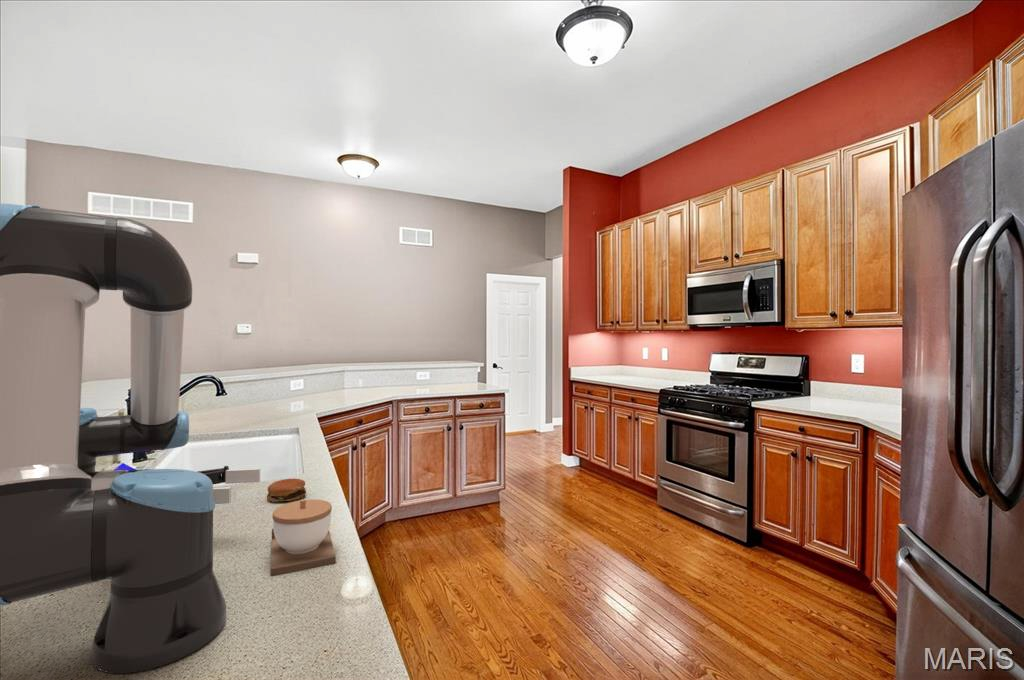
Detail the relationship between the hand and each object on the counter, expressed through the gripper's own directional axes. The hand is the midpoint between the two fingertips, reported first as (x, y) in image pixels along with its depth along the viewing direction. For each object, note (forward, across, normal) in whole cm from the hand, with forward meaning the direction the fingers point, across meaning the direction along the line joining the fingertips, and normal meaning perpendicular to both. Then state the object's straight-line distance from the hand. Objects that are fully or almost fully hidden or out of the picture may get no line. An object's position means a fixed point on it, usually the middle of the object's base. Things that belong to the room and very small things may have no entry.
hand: (246, 484), depth 90 cm
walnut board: (+11, 0, -14) cm, 18 cm away
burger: (-3, -34, -13) cm, 37 cm away
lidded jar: (+11, 0, -13) cm, 17 cm away
